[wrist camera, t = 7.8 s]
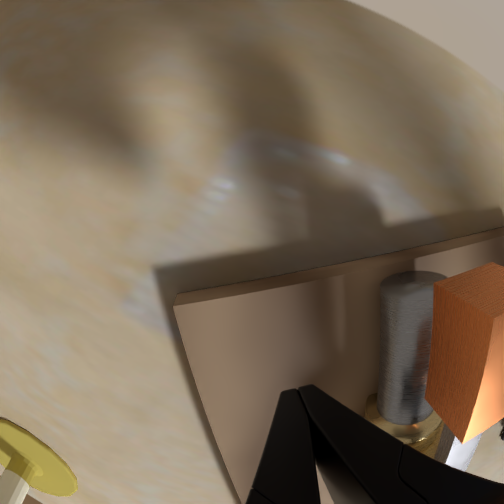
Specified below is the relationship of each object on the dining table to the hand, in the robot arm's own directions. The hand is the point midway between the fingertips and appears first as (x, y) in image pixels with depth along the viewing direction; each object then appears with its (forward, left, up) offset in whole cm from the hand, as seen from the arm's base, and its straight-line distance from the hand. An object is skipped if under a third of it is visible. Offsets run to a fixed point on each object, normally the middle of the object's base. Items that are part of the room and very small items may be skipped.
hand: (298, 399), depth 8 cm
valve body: (-6, +11, -7) cm, 15 cm away
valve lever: (-6, +5, -1) cm, 8 cm away
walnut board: (-6, +11, -7) cm, 15 cm away
